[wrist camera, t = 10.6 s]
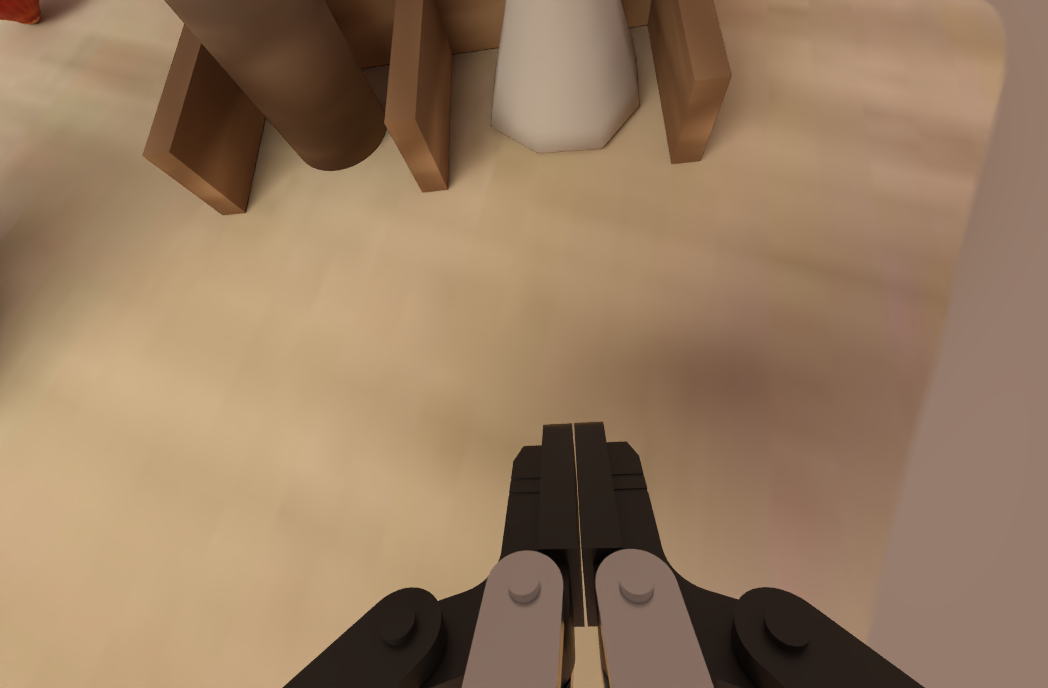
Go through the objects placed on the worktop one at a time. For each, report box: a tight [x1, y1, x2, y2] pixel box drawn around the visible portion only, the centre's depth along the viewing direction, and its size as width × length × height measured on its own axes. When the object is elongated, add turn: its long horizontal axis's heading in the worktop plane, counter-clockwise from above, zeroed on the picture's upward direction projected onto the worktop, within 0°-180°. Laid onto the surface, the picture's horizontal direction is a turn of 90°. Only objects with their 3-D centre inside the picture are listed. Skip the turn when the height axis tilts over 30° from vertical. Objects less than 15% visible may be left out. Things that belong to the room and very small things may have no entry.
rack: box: [143, 0, 731, 215], centre depth 19 cm, size 23×10×4 cm, turn 92°
